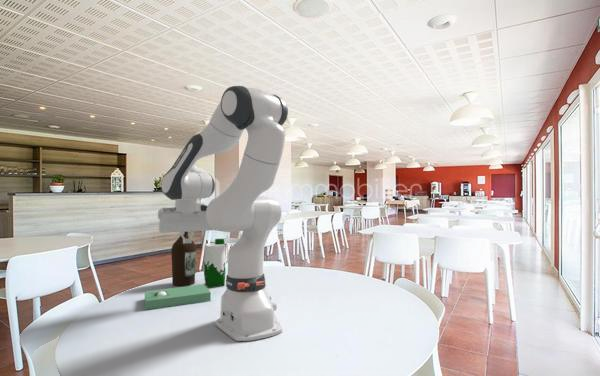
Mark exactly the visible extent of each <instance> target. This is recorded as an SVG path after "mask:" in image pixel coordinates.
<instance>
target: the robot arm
mask: <svg viewBox="0 0 600 376" xmlns="http://www.w3.org/2000/svg"><path fill="white" fill-rule="evenodd" d="M288 114H289V108H288V105H287V103H286V101H285V99H283V98H282V97H280V96H279V95H276V94H271V93H268V92H266V91H264V90H261V89H259V88H258V89H257V88H252V87H246V86H244V85H233V86H229V87H227V88H226V89H225V90H224V92H223V94H222V96H221V99H220V102H219V104H218V105H217V106H216V108H215V109H214V112H213V114H212V115H211V117H210V119H209V122H208V123H207V124H206V126H205V127H204V128H203V129H202V130H201V131H200V132H198V133H196V134H194V135H193V136H192V137H191V138H190V139H189V141H187V143H186V144H185V147H184V148H183V149H182V151H181V152H180V154H179V155H178V157H177V158H176V160H175V162H174V163H173V165H172V166H171V167H170V169H169V170H168V171H167V172H166V173H164V175H163V177H162V180H161V181H160V182H161V183H160V188H161V192H162V193H163V194H164V195H165V197H167V199H170V200H171V201H174V205H175V206H174V207H162V208H161V209H159V210H158V212H157V218H158V220H159V221H158V232H159V233H179V236H180V235H181V237H182V238H183V244H187V243H192V241H193V238H194V236H195V235H196V234H195V232H203V231H205V232H206V231H218V232H224V233H234V232H242V233H241V236H240V238H239V239H238V240H237V242H235V243H234V244H232V245H231V246H230V248H229V249H228V253H227V274H226V275H225V285H226V286H225V287H226V290H225V291H224V292H223V294H222V295H221V298H220V299H221V301H220V313H219V316H220V317H219V318H218V319H216V320H215V322H214V326H216V327H218V329H220V330H221V331H223V332H224V333H225V334H227V336H228V337H230V338H232V339H233V340H234V341H237V342H238V341H239V342H246V341H247V342H249V341H256V340H261V339H265V338H269V337H273V336H276V335H278V334H280V333H281V332H283V327H282V325H281V323H280V322H279V320H278V318H277V316H276V314H275V311H277V303H276V302H272V301H271V300H272V296H271V295H269V293H268V289H267V288H266V287H267V285H266V277H265V274H264V258H265V257H264V255H265V254H264V253H265V247H266V243H267V240H268V238H269V235H270V234H271V232H272V231H273V230H274V228H275V227H276V226H277V225H278V224H279V223H280V222H281V221H280V220H281V218H282V207H281V205H280V202H279V201H278V200H277V199H276V198H271V197H268V196H264V195H261V194H263V193H264V192H267V191H268V190H269V189H271V187H272V186H273V185H274V182H275V179H276V176H277V173H278V170H279V167H280V163H281V159H282V156H283V152H284V147H285V140H286V133H285V129H284V128H283V125H284V124H285V123H286V122H287V118H288ZM245 130H246V132H247V141H246V145H245V149H244V152H243V156H242V159H241V162H240V165H239V168H238V171H237V174H236V176H235V177H234V180H233V181H232V182H231V183H230V185H229V186H228V187H227V188H226V189H225V190H224V191H223V192H222V193H221V194H220V195H218V196H216V197H214V198H213V199H211V200H210V202H209V203H208V205H207V204H205V203H201V202H200V199H207V198H208V199H209V198H210V197H211V196H212V195H213V193H214V192H215V187H216V185H215V184H216V182H215V180H214V178H213V176H212V175H211V174H210V173H206V172H204V171H202V170H200V169H199V167H198V166H197V165H195V164H196V162H198V161H199V160H200V159H202V158H205V157H208V156H212V155H217V154H223V153H227V152H230V151H231V150H233V149H234V148H235V147H236V145H237V144H238V143H239V142H240V141H239V140H240V139H241V137H242V135H243V133H244V131H245ZM187 231H188V232H189V234H190V236H189V238H187V239H185V237H184V236H183V235H184V233H185V232H187Z"/></svg>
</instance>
